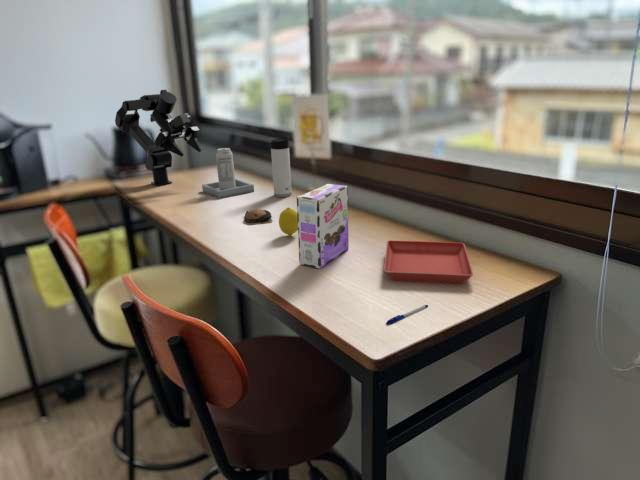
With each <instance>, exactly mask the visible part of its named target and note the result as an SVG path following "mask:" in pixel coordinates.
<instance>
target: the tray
mask: <svg viewBox="0 0 640 480" xmlns="http://www.w3.org/2000/svg"><path fill="white" fill-rule="evenodd" d="M235 184H236V187H235V188H231V189H226V190H221V189H220V188H219V181H216V182H209V183H205V184H202V185H201V188H202V192H204V193H205V194H207V195H211V196H213V197H215V198H217V199H220V200H221V199H225V198H228V197H229V198H230V197H234V196H239V195H243V194H248V193H253V192H255V185H254V184H253V183H249V182H247V181H244V180H241V179H238V178H235Z"/></svg>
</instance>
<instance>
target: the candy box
mask: <svg viewBox="0 0 640 480" xmlns="http://www.w3.org/2000/svg"><path fill="white" fill-rule="evenodd" d="M348 193H349V191H348V185H344V184H343V185H342V184H336V183H335V184H334V183H326V184H324V185H323V186H320V187H318V188H315V189H313V190H311V191H308V192H305V193H303V194H301V195H298V196H296V209H297V210H296V212H297V218H298V230H297V233H298V235H297V236H298V237H297V238H298V261H299V265H303V266H308V267H310V268H315V269H321V268H324V267H325V266H326V265H327V264H329V263H331V262H332V261H334V260H335V259H337V258H338V257H339V256H341V255H342V254H344V253H345V252H347V251H348V250H349V246H350V245H349V209H348V208H349V198H348V196H349V195H348Z"/></svg>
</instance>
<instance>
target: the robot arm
mask: <svg viewBox="0 0 640 480" xmlns="http://www.w3.org/2000/svg"><path fill="white" fill-rule="evenodd" d="M176 102H177V97H176V95H175V94H173V93H171V92H170V91H167V89H161V90H160V92H159V94H158V93H157V94H144V95H141V96H140V97H139V99H138V98H137V99H131V100H124V101H122V103H121V106H120V108H119V109H118V110H117V112H116V114H115V119H114V123H115V125H116V127H117V128H118V129H119V130H120V131H122V132H123V133H126V134H129V135H131V137H132V138H133V139H134V140H135V141H136V142H137V143H138V144H139V146H140V147H141V148H142V149H143V150H144V151H145V153H147V155H146V156H147V158H146V161H145V164H144V166H145V168H146V170H148V171H151V172H152V179H153V181H151V182H150V184H152V185H154V186H155V187H157V186H158V187H159V186H162V185H169V184H173V182H172V181H171V180H169V175H168V168H172V165H173V163H172V162H173V155H172V154H175V155H177V156H180V157H184V156H185V155H184V152H183V150H182V149H181V148H180V147H179V146H178V144H177V142H176V141H177V140H180V139H183V140H184V141H185V142H186V144H188V146H190V147H191V148H192V149H194V150H195V151H197V152H198V153H202V149H201V146H200V142H199V140H198V135H199V133H200V131H201V130H200V129H199V127H198V126H197V125H195V126H188V127H187V128H186V126H187V125H188V124H190V123H191V122H192V116H191V115H189V113H188V112H187V113H186V112H185V113H183V114H179V115H177V116H175V117H172V116H171V113H173V110H174V108H175V105H176ZM139 110H142V111H145V112H151V114H149V115H150V122H151V123H153V122H155V123H156V124H157V125H158V127H159V133H158V135H157V136H156V138H155V139H154V140H153V139H152V138H151V137H150V136H149V135H148V134H147V132H146V131H144V129H143V128H142V127H141V126H140V119H141V118H140V117H141V116H140V114H139V112H138V111H139ZM131 111H132V112H133V111H134V112H133V113H128V112H131ZM183 130H185V131H183Z"/></svg>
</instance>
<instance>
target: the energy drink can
mask: <svg viewBox="0 0 640 480" xmlns="http://www.w3.org/2000/svg"><path fill="white" fill-rule="evenodd" d="M233 155H234V154H233V152H232V150H231V148H230V147H220V148H217V149H216V153H215V160H216V170H217V177H218V178H217V180H218V182H219V188H220V189H221V190H226V189H231V188H235V187H236V184H235V179H236V177H235V176H236V175H235V173H236V172H235V167H234V163H235V162H234V156H233Z"/></svg>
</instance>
